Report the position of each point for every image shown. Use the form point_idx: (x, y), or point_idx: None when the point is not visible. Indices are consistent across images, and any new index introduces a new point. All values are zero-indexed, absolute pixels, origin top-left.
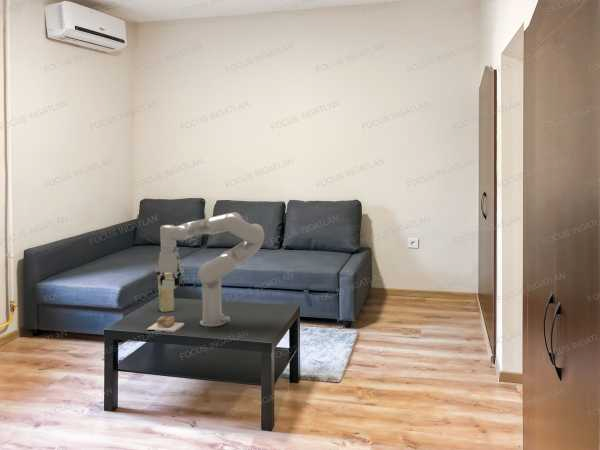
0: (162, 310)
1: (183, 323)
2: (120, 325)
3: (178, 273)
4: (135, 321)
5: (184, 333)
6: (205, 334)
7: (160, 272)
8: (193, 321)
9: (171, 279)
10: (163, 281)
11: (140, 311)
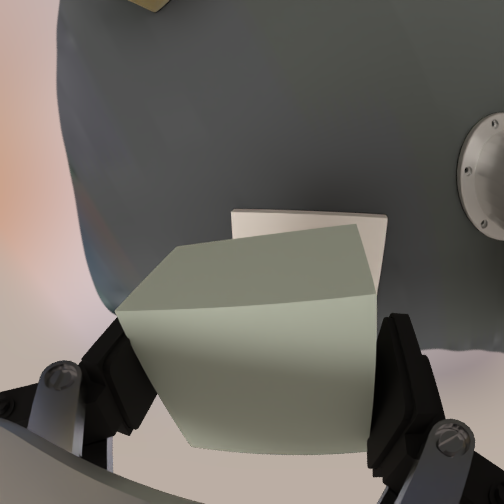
0: (150, 10)
1: (386, 226)
2: (101, 257)
3: (451, 501)
4: (115, 193)
5: (414, 329)
6: (487, 326)
7: (24, 427)
8: (413, 143)
9: (281, 388)
10: (209, 444)
11: (62, 49)
